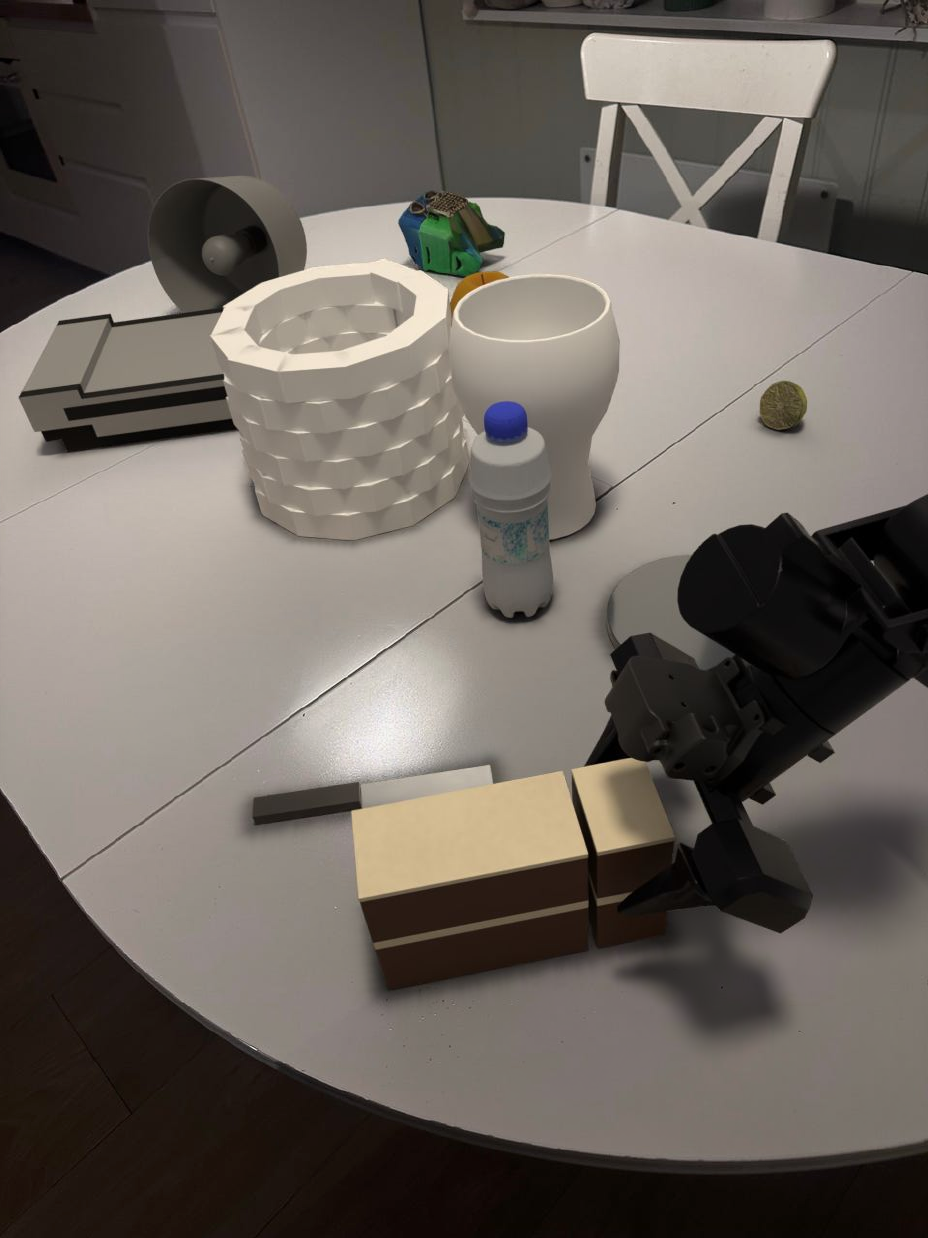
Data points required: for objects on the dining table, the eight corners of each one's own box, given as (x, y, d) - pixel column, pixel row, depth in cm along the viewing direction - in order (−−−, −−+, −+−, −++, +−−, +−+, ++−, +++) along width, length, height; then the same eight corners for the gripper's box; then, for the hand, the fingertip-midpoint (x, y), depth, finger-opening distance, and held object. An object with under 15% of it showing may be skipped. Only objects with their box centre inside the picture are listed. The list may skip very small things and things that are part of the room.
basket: (351, 571, 90) (310, 397, 77) (212, 488, 103) (158, 328, 90) (521, 455, 102) (510, 288, 89) (377, 394, 115) (350, 242, 102)
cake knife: (490, 767, 70) (489, 758, 70) (494, 792, 69) (493, 784, 68) (256, 802, 70) (253, 794, 69) (255, 828, 68) (251, 820, 68)
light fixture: (256, 173, 117) (345, 140, 138) (96, 187, 126) (202, 153, 146) (291, 333, 129) (369, 280, 149) (142, 335, 137) (235, 285, 158)
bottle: (472, 590, 86) (449, 398, 72) (538, 569, 87) (527, 376, 74) (499, 635, 81) (480, 438, 68) (568, 612, 82) (563, 414, 69)
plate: (810, 583, 82) (813, 573, 81) (779, 711, 72) (781, 701, 71) (635, 551, 88) (635, 541, 87) (582, 665, 77) (582, 655, 77)
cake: (566, 870, 63) (562, 770, 56) (588, 950, 59) (588, 854, 51) (379, 906, 63) (350, 810, 55) (388, 991, 58) (358, 899, 51)
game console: (309, 422, 112) (294, 359, 106) (47, 458, 111) (18, 397, 106) (313, 345, 127) (300, 287, 121) (82, 377, 127) (59, 320, 121)
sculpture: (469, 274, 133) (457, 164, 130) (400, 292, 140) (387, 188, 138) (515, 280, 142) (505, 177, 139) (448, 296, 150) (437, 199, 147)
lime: (804, 435, 99) (812, 393, 96) (758, 434, 100) (763, 393, 97) (802, 413, 103) (809, 373, 99) (757, 413, 104) (762, 372, 100)
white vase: (631, 475, 97) (637, 273, 82) (596, 565, 87) (596, 353, 72) (494, 459, 102) (477, 266, 87) (445, 543, 91) (417, 339, 77)
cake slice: (637, 856, 64) (643, 755, 56) (665, 935, 59) (675, 837, 52) (573, 868, 63) (571, 768, 56) (596, 949, 59) (597, 852, 51)
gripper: (649, 524, 52) (475, 691, 59) (787, 782, 39) (539, 961, 45) (764, 603, 58) (593, 747, 65) (920, 851, 44) (683, 1001, 51)
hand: (600, 846), depth 57 cm, fingers open, 9 cm apart
